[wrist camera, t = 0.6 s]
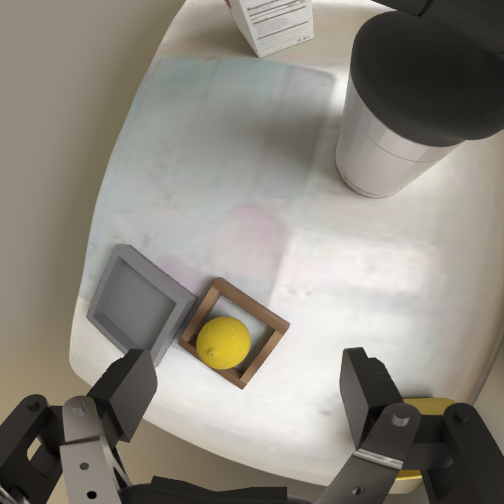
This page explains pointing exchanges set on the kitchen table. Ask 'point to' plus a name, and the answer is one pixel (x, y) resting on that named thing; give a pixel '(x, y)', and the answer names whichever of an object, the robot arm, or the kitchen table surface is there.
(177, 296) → the charcoal tray
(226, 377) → the wooden square frame
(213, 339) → the lemon
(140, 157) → the kitchen table surface
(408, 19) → the robot arm
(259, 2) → the supplement box
